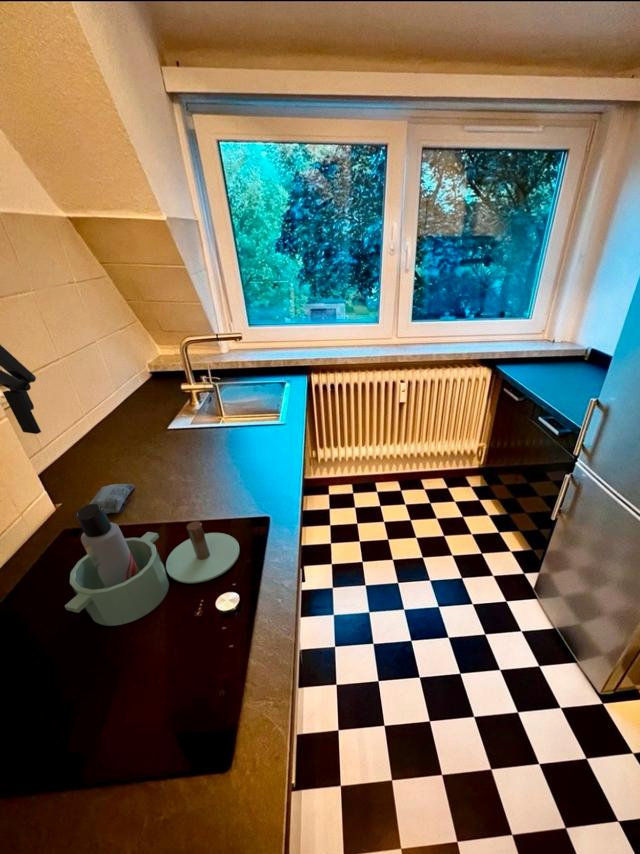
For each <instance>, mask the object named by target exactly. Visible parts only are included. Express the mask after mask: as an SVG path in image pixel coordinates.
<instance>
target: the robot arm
mask: <svg viewBox="0 0 640 854" xmlns="http://www.w3.org/2000/svg"><path fill="white" fill-rule="evenodd" d="M0 367H1V368H2V369H3V370H2V369H0V385H1V386H2V387H4V388H6V389H9V390H4V391H2V394H3V396H4V398H5V400H6V402H7V404H8V406H9V409H11V411H12V413H13V415H14V418H15V419H16V421H17V424H18V425H19V427H20V429H21V431H22V433H25V434H26V433H27V434H32V435H33V434H34V435H39V434H41V433H42V430H41V428H40V426H39V424H38V422H37V420H36V419H35V416H34V414H33V412H32V410H34V409H35V406H34V404H33V401H32V399H31V397H30V395H29V393H28V391H30V390H31V386H32V385H31V383H35V382H36V381H37V377H36V376H35V374H33V372H31V371H30V370H29V369H28V368H27V367H26V366H24V365H23V363H21V362H20V361H19V360H18V359H17V358H16V357H15V356H13V354H12V353H10V352H9V351H8V350H7V349H6V348H5V347H4V346H3V345H2V344H0ZM4 370H5V371H4Z"/></svg>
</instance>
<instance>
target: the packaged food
mask: <svg viewBox="0 0 640 854" xmlns="http://www.w3.org/2000/svg"><path fill="white" fill-rule="evenodd" d="M135 491H136V485H135V484H133V483H115V484H109V485H105V486H102V487H100V489H99V490H98V492H97V493H96V494H95V495H94V497H93V498H92V500H91V501H90V502H89V503H88V505H89V504H98V505H99V506H102V507H103V509H104V511H105V513H106V515H107V514H121V513H122V511H123V510H124V508H125V507H126V504H128V502H129V500H130V499H131V498H132V496H133V495H134V493H135Z"/></svg>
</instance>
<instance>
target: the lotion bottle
mask: <svg viewBox="0 0 640 854" xmlns="http://www.w3.org/2000/svg"><path fill="white" fill-rule="evenodd" d="M75 518H76V520H77V522H78V524H79V525H80V528H81V529H82V531H83V533H82V534H81V536H80V542H81V544H82V546H83V548H84V550H85V551H86V554H88V555H89V557H90V559H91V561H92V563H93V565H94V566H95V568H96V570H97V572H98V574H99V576H100V578H101V580H102V581H103V583H104V585H105V587H106V588H109V587H112V586H115V585H118V584H121V583H124V582H125V581H127V580H129V579H130V578H132V577H134V576H135V575H137V574H138V573H139V570H138V568H137V565H136V563H135V561H134V559H133V557H132V554H131V552H130V550H129V548H128V546H127V543H126V541H125V539H126V538H125V537H124V534H123V532H122V531H121V528H120V527H119V524H118V523H115V522H111V521H110V520H109V517H108V515H107V514H106V513H105V511H104V509H103V507H102V506H99V505H98V504H89V503H88V504H87V505H84V506H83V507H81V508H79V509H77V511H76V512H75Z"/></svg>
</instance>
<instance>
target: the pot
mask: <svg viewBox="0 0 640 854" xmlns="http://www.w3.org/2000/svg"><path fill="white" fill-rule="evenodd" d="M159 538H160V536H159V533H157V532H152V531H147V532H146V533H145V534H143V535H142V536H141V537H126V538H124V539H125V541H126V543H127V546H128V548H129V550H130V552H131V554H132V557H133V559H134V561H135V563H136V565H137V568H138V570H139V573H138V574H137V575H135V576H134V577H132V578H130V579H129V580H127V581H125V582H124V583H121V584H118V585H115V586H112V587H109V588H106V587H105V585H104V583H103V581H102V580H101V578H100V576H99V574H98V572H97V570H96V568H95V566H94V565H93V563H92V561H91V559H90V557H89V555H88V553H86V555H84V556H83V557H82V558H80V559H79V560H78V561H77V562H76V564H75V565H74V567H73V568H72V569H71V571H70V573H69V585H70V587H71V588H72V590H73V591H74V593H75V595H74V597H73V598H72V599H70V600H69V601H68V602H67V603H66V604H64V608H65V610H66V611H69V612H73V613H80V612H81V611H83V610H85V612H86V613H87V614H88V615H89V617H90V618H91V620H92V621H93V622H94V623H97V624H98V625H101V626H106V627H113V626H114V627H115V626H122V625H125V624H129V623H132V622H135V621H137V620H139V619H141V618H143V617H145V616H146V615H149V613H151V612H152V611H154V610H155V609H156V608H157V607H158V606H159V605H160V604H161V603H162V602H163V600H164V599H165V597H166V596H167V594H168V592H169V588H170V581H169V578H168V573H167V570H166V568H165V566H164V563H163V561H162V559H161V557H160V554H159V551H158V548H157V547H156V544H154V543H155V542H156V541H157V540H158V539H159Z"/></svg>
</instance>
